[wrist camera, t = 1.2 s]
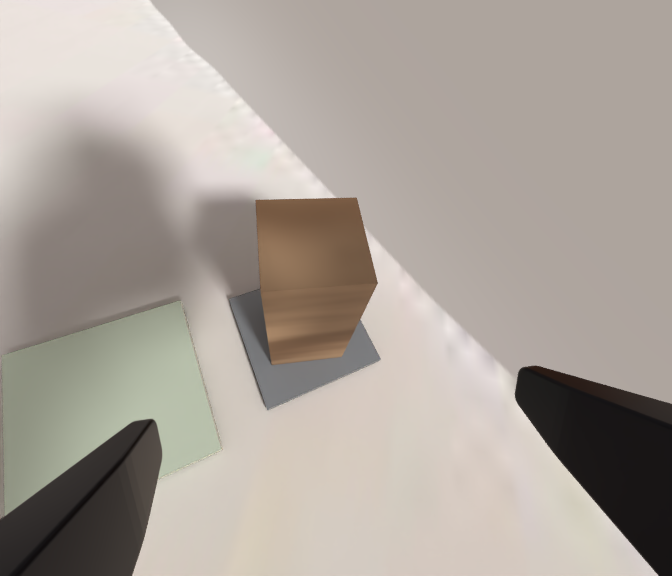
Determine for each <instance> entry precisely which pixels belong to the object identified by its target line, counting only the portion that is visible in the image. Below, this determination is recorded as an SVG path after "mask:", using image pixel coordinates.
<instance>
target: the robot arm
mask: <svg viewBox="0 0 672 576" xmlns="http://www.w3.org/2000/svg"><path fill="white" fill-rule="evenodd" d="M515 398H516V401H517V403H518V405H519V406H520V408H521V409H522V410H523V412H524V413H525V415H526V416H527V417H528V419H529V420H530V421H531V423H532V424H533V426H534V427H535V428H536V430H537V431H538V432H539V434H540V435H541V437H542V438H543V439H544V441H545V442H546V443H547V445H548V446H549V447H550V449H551V450H552V451H553V453H554V454H555V455H556V457H557V458H558V459H559V460H560V461H561V463H562V464H563V465H564V466H565V467H566V468H567V470H568V471H569V472H570V473H571V474H572V475H573V477H574V478H575V479H576V480H577V481H578V482H579V484H580V485H581V486H582V487H583V488H584V489H585V491H586V492H587V493H588V494H589V495H590V496H591V498H592V499H593V500H594V501H595V502H596V503H597V505H598V506H599V507H600V508H601V509H602V510H603V512H604V513H605V514H606V515H607V516H608V517H609V519H610V520H611V521H612V522H613V523H614V524H615V526H616V527H617V528H618V529H619V530H620V531H621V532H622V534H623V535H624V536H625V537H626V538H627V539H628V541H629V542H630V543H631V544H632V545H633V546H634V548H635V549H636V550H637V551H638V552H639V553H640V555H641V556H642V557H643V558H644V559H645V560H646V562H647V563H648V564H649V565H650V566H651V567H652V569H653V570H654V571H655V572H656V573H657V574H658V576H672V404H670V403H667V402H663V401H659V400H656V399H652V398H649V397H645V396H642V395H638V394H635V393H631V392H627V391H624V390H621V389H617V388H614V387H610V386H607V385H603V384H600V383H596V382H593V381H589V380H585V379H582V378H578V377H575V376H571V375H568V374H565V373H561V372H557V371H554V370H550V369H547V368H543V367H540V366H528V367H523V368H521V369H520V370H519V372H518V377H517V384H516V390H515ZM161 463H162V446H161V441H160V437H159V432H158V427H157V423H156V421H155V420H154V419H145V420H137V421H133V422H131V423H130V424H128V425H127V426H126V427H124V428H123V429H122V430H120V431H119V432H118V433H116V434H115V435H114V436H112V437H111V438H109V439H108V440H107V441H105V442H104V443H103V444H101V445H100V446H99V447H97V448H96V449H95V450H93V451H92V452H91V453H89V454H88V455H86V456H85V457H84V458H82V459H81V460H80V461H78V462H77V463H76V464H74V465H73V466H72V467H70V468H69V469H68V470H66V471H65V472H64V473H62V474H61V475H59V476H58V477H57V478H55V479H54V480H53V481H51V482H50V483H49V484H47V485H46V486H45V487H43V488H42V489H41V490H39V491H38V492H36V493H35V494H34V495H32V496H31V497H30V498H28V499H27V500H26V501H24V502H23V503H22V504H20V505H19V506H18V507H16V508H15V509H13V510H12V511H11V512H9V513H8V514H7V515H5V516H4V517H3V518H1V519H0V576H132V574H133V571H134V568H135V565H136V562H137V559H138V556H139V553H140V550H141V547H142V543H143V540H144V537H145V533H146V529H147V525H148V520H149V516H150V511H151V507H152V503H153V498H154V494H155V489H156V485H157V480H158V476H159V471H160V467H161Z"/></svg>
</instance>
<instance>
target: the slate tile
mask: <svg viewBox="0 0 672 576" xmlns="http://www.w3.org/2000/svg"><path fill="white" fill-rule="evenodd" d="M229 301H230V304H231V307H232V310H233V313H234V315H235V318H236V321H237V324H238V327H239V330H240V333H241V336H242V339H243V341H244V344H245V347H246V350H247V353H248V356H249V359H250V362H251V364H252V367H253V370H254V373H255V376H256V379H257V382H258V385H259V388H260V390H261V393H262V396H263V399H264V402H265V405H266V408H267V410H270V409H272V408H274V407H276V406H279V405H281V404H283V403H285V402H288V401H290V400H292V399H294V398H297V397H299V396H301V395H303V394H306V393H308V392H310V391H312V390H315V389H317V388H319V387H321V386H324V385H326V384H328V383H330V382H333V381H335V380H337V379H339V378H342V377H344V376H346V375H349V374H351V373H353V372H355V371H358V370H360V369H362V368H364V367H367V366H369V365H371V364H373V363H376V362H378V361H380V357H379V355H378V353H377V351H376V349H375V347H374V345H373V343H372V341H371V339H370V338H369V336H368V334H367V332H366V330H365V328H364V326H363V324H362V322H361V320H360V321H359V323H358V325H357V327H356V329H355V331H354V333H353V335H352V337H351V339H350V341H349V343H348V345H347V347H346V349H345V351H344V353H343V355H342V357H338V358H329V359H320V360H312V361H303V362H295V363H286V364H278V365H272V363H271V357H270V350H269V344H268V337H267V331H266V324H265V318H264V311H263V305H262V298H261V291H260V289H258V290H255V291H252V292H249V293H246V294H243V295H240V296H236V297H233V298H230V299H229Z"/></svg>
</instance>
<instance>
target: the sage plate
mask: <svg viewBox="0 0 672 576" xmlns="http://www.w3.org/2000/svg"><path fill="white" fill-rule="evenodd" d="M2 401H3V460H4V516H5V515H7V514H8V513H9V512H11V511H12V510H13V509H15V508H16V507H18V506H19V505H20V504H22V503H23V502H24V501H26V500H27V499H28V498H30V497H31V496H32V495H34V494H35V493H36V492H38V491H39V490H41V489H42V488H43V487H45V486H46V485H47V484H49V483H50V482H51V481H53V480H54V479H55V478H57V477H58V476H59V475H61V474H62V473H64V472H65V471H66V470H68V469H69V468H70V467H72V466H73V465H74V464H76V463H77V462H78V461H80V460H81V459H82V458H84V457H85V456H86V455H88V454H89V453H91V452H92V451H93V450H95V449H96V448H97V447H99V446H100V445H101V444H103V443H104V442H105V441H107V440H108V439H109V438H111V437H112V436H114V435H115V434H116V433H118V432H119V431H120V430H122V429H123V428H124V427H126V426H127V425H128V424H130V423H131V422H133V421H137V420H145V419H154V420H155V421H156V423H157V427H158V432H159V437H160V441H161V446H162V463H161V467H160V471H159V476H158V479H160V478H163V477H165V476H167V475H169V474H171V473H173V472H176V471H178V470H180V469H182V468H184V467H186V466H189V465H191V464H193V463H195V462H197V461H199V460H202V459H204V458H206V457H208V456H210V455H212V454H215V453H217V452H219V451H221V450H223V448H222V445H221V441H220V438H219V434H218V430H217V427H216V423H215V420H214V416H213V412H212V409H211V405H210V402H209V398H208V394H207V391H206V387H205V384H204V380H203V376H202V373H201V369H200V366H199V362H198V358H197V355H196V351H195V348H194V344H193V340H192V337H191V333H190V330H189V326H188V322H187V319H186V315H185V312H184V308H183V304H182V302H181V301H180V300H179V301H176V302H173V303H170V304H167V305H163V306H160V307H157V308H154V309H150V310H147V311H144V312H141V313H137V314H134V315H131V316H128V317H125V318H121V319H118V320H115V321H112V322H108V323H105V324H102V325H99V326H95V327H92V328H89V329H86V330H82V331H79V332H76V333H73V334H70V335H66V336H63V337H60V338H57V339H53V340H50V341H47V342H44V343H40V344H37V345H34V346H31V347H28V348H24V349H21V350H18V351H15V352H11V353H8V354H5V355H2Z"/></svg>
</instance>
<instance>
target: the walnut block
mask: <svg viewBox="0 0 672 576" xmlns="http://www.w3.org/2000/svg"><path fill="white" fill-rule="evenodd" d="M256 216H257V235H258V253H259V272H260V291H261V298H262V305H263V311H264V318H265V324H266V331H267V337H268V344H269V350H270V357H271V363H272V365H278V364H286V363H295V362H303V361H312V360H320V359H329V358H338V357H342V355H343V353H344V351H345V349H346V347H347V345H348V343H349V341H350V339H351V337H352V335H353V333H354V331H355V329H356V327H357V325H358V323H359V321H360V318H361V316H362V314H363V312H364V310H365V308H366V306H367V304H368V302H369V300H370V298H371V296H372V294H373V292H374V290H375V288H376V286H377V284H378V282H377V278H376V274H375V270H374V266H373V262H372V258H371V254H370V250H369V246H368V242H367V238H366V234H365V229H364V225H363V221H362V217H361V213H360V209H359V205H358V201H357V198H323V199H279V200H256Z"/></svg>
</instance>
